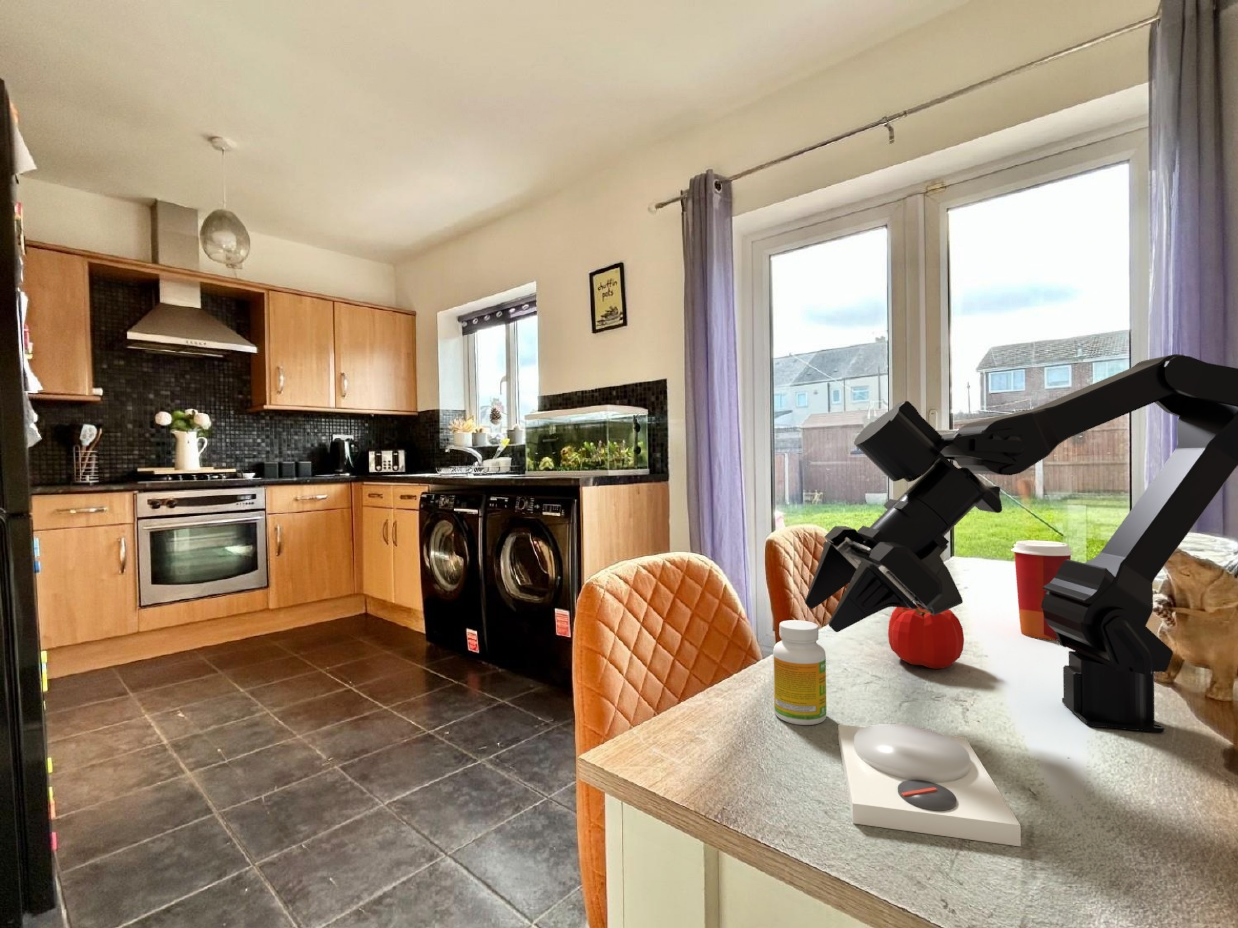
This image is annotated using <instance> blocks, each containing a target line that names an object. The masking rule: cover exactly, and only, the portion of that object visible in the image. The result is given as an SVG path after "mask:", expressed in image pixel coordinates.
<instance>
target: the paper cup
mask: <svg viewBox="0 0 1238 928" xmlns="http://www.w3.org/2000/svg"><path fill="white" fill-rule="evenodd" d="M1010 551H1011V552H1013V553H1014V562H1015V563H1014V565H1015V576H1016V577H1015V579H1016V580H1015V581H1016V590H1017V605H1018V614H1019V615H1018V616H1019V625H1020V632H1021V634H1022V635H1023V636H1026V637H1029V638H1032V639H1037V638H1039V639H1038V640H1043V639H1046V640H1045V641H1058V639H1057V636H1056V634H1055V631H1054V630H1053V629H1052V628H1051V627H1050V626H1049V625H1048V624H1047V622H1046V620H1045V618H1044V614H1043V609H1042V608H1041V604H1042V600H1043V598H1044V596H1045V594H1046V593H1047V592H1048V591H1047V590H1044V589H1043V587H1044V586H1045V585H1047V584H1048V583H1050V582H1051V581H1052V580H1053V579H1054V577H1055V576H1056V574H1057V572H1058V570H1059V568H1060V566H1061V564H1062V563H1063V562H1064V561H1065V560H1067V559H1069V560H1072V557H1071V556H1073V555H1074V552H1073V551H1072V550H1071V547H1070V546H1069V544H1068V543H1065V542H1060V541H1050V540H1049V541H1048V540H1033V539H1032V540H1031V539H1030V540H1028V539H1027V540H1026V539H1024V540H1016V542H1015V544H1013V547H1012V548H1011V549H1010Z"/></svg>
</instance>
